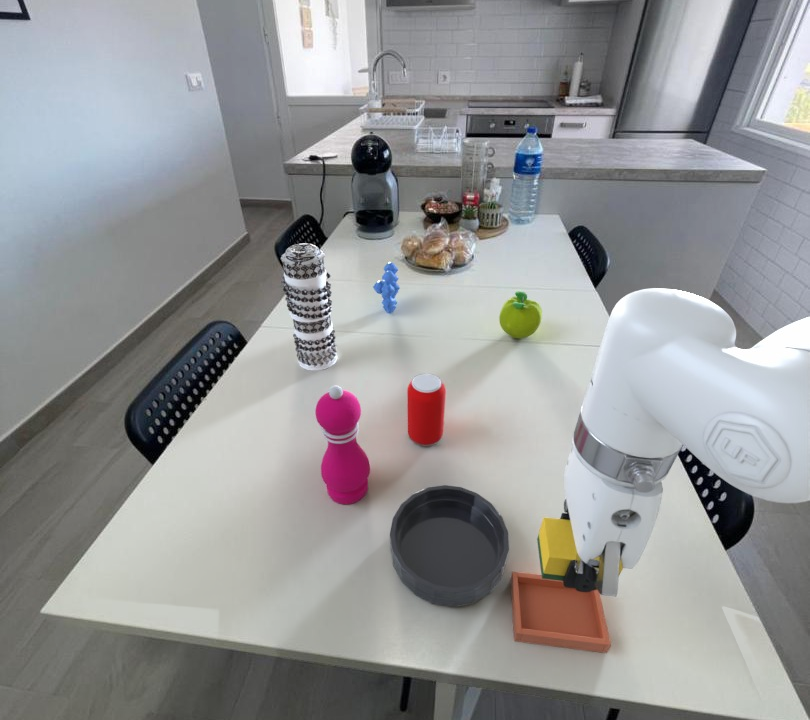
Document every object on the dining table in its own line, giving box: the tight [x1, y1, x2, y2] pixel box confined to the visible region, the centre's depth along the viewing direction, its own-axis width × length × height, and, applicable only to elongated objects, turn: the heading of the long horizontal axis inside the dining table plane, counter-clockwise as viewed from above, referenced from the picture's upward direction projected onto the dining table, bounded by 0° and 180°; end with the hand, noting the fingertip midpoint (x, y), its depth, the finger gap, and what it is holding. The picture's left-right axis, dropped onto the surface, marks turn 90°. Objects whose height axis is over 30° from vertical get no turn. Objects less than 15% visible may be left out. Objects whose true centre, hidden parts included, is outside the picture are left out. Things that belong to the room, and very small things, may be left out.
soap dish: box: [509, 571, 612, 654], centre depth 53 cm, size 10×7×2 cm
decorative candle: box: [280, 242, 338, 372], centre depth 89 cm, size 9×9×25 cm
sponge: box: [536, 516, 624, 581], centre depth 46 cm, size 7×4×4 cm, turn 83°
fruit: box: [498, 290, 543, 340], centre depth 101 cm, size 9×9×10 cm
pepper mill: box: [315, 384, 371, 505], centre depth 63 cm, size 7×7×20 cm
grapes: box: [372, 261, 401, 315], centre depth 111 cm, size 12×7×12 cm, turn 175°
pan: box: [389, 484, 510, 608], centre depth 59 cm, size 15×15×4 cm
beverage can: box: [406, 373, 447, 447], centre depth 74 cm, size 6×6×12 cm
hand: (574, 560), depth 47 cm, fingers closed on sponge, 4 cm apart
